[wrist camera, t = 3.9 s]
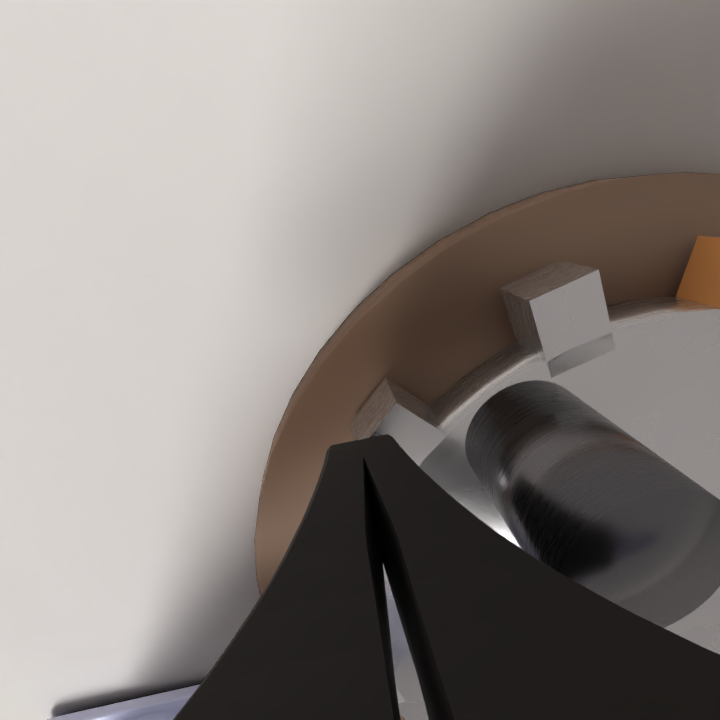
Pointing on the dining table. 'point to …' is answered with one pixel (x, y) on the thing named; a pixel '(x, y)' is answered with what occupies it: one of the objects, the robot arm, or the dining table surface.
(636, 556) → the sprocket
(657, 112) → the dining table surface
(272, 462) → the sprocket base
